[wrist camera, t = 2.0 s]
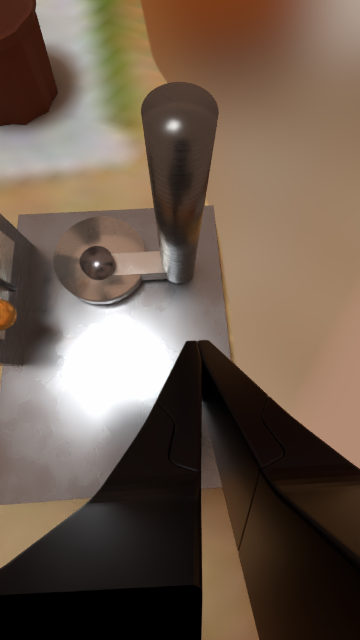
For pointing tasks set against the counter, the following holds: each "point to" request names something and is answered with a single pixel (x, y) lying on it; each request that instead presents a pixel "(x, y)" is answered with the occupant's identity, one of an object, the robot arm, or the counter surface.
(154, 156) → the crank handle
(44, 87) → the muffin
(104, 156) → the counter surface
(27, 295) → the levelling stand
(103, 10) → the counter surface
